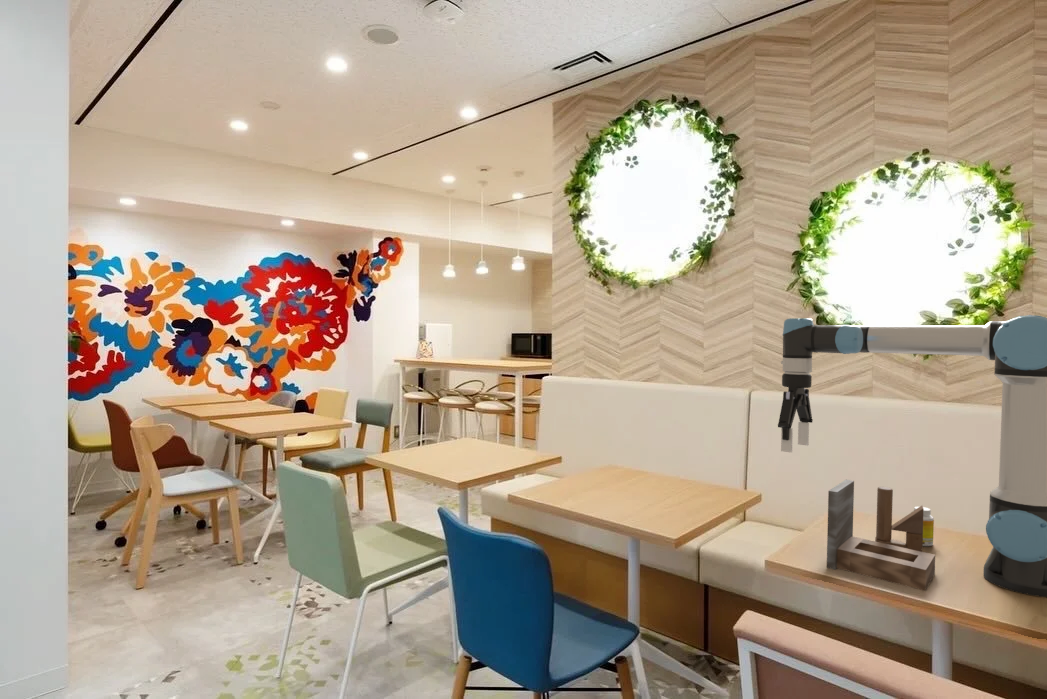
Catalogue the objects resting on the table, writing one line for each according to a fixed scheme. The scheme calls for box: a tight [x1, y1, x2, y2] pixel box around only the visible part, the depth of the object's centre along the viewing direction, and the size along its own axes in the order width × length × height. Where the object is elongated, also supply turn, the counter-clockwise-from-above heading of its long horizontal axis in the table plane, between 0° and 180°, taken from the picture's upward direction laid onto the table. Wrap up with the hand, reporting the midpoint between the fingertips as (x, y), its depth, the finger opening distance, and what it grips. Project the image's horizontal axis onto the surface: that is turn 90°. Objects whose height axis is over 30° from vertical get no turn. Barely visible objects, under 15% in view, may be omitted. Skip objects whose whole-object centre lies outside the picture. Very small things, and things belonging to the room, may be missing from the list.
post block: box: [826, 479, 936, 592], centre depth 149 cm, size 21×16×20 cm
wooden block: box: [874, 486, 924, 552], centre depth 159 cm, size 4×11×18 cm, turn 59°
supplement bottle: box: [913, 506, 935, 547], centre depth 168 cm, size 6×6×10 cm
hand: (795, 448), depth 165 cm, fingers open, 13 cm apart
